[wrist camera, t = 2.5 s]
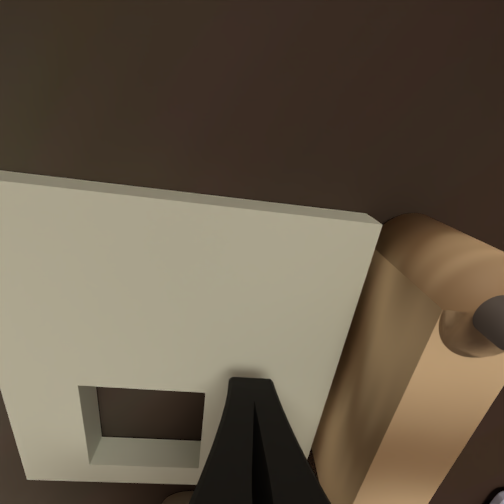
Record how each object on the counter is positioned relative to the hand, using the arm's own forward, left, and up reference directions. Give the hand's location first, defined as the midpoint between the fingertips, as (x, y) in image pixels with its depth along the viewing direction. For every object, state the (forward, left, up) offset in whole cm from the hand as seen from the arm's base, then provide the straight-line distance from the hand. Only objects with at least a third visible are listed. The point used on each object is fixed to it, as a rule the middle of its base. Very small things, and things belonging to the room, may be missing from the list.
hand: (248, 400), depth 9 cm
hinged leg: (+1, -5, -2) cm, 5 cm away
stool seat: (0, +3, -2) cm, 4 cm away
